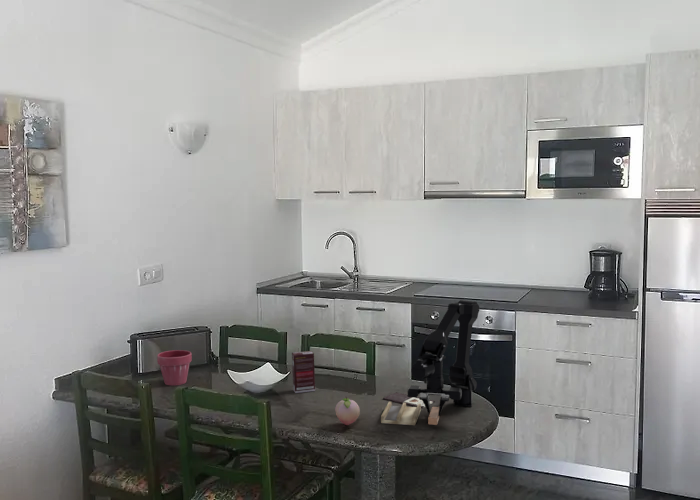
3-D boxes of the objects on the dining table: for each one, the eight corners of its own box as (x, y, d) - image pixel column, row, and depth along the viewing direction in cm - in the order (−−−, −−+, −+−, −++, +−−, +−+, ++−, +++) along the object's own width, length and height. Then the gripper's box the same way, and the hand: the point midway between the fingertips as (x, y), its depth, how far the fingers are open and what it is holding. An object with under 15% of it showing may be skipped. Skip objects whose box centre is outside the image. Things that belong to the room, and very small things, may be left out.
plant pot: (186, 376, 300) (185, 347, 299) (197, 383, 288) (195, 354, 287) (154, 381, 293) (153, 352, 292) (163, 389, 281) (162, 359, 280)
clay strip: (440, 413, 247) (440, 407, 246) (436, 425, 235) (436, 418, 235) (432, 413, 247) (432, 406, 247) (428, 424, 236) (428, 417, 236)
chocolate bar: (396, 392, 271) (434, 400, 259) (396, 394, 271) (434, 403, 259) (383, 397, 264) (421, 407, 252) (383, 400, 264) (421, 409, 252)
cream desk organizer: (420, 410, 250) (420, 403, 250) (415, 425, 235) (414, 418, 235) (388, 408, 253) (388, 401, 253) (381, 423, 238) (381, 416, 237)
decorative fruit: (363, 428, 233) (362, 400, 232) (340, 431, 231) (340, 402, 230) (355, 419, 242) (354, 392, 241) (333, 421, 240) (332, 394, 239)
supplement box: (312, 387, 280) (312, 350, 278) (315, 391, 275) (314, 353, 274) (292, 389, 278) (291, 352, 276) (294, 393, 273) (293, 355, 271)
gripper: (462, 368, 245) (462, 410, 247) (411, 365, 250) (411, 406, 251) (460, 376, 234) (460, 420, 236) (407, 374, 239) (407, 417, 240)
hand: (434, 415), depth 241 cm, fingers closed on clay strip, 3 cm apart
